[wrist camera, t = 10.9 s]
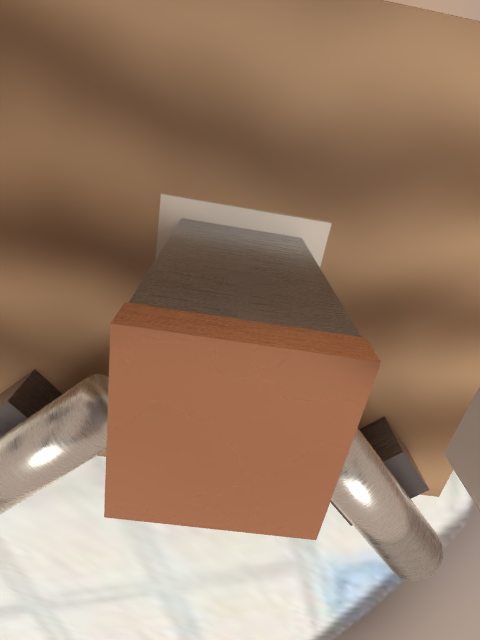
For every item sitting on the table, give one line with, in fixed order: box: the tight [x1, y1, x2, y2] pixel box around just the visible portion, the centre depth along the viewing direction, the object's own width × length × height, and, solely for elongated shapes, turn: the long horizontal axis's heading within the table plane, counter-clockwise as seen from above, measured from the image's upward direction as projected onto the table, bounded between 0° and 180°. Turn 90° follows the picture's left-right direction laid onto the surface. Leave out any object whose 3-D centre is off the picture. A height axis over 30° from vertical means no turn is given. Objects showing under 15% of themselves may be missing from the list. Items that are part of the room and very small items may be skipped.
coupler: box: [104, 218, 381, 540], centre depth 13 cm, size 5×5×10 cm
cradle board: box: [0, 0, 480, 497], centre depth 18 cm, size 22×28×2 cm
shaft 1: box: [0, 369, 109, 514], centre depth 18 cm, size 9×4×5 cm, turn 125°
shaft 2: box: [330, 416, 443, 581], centre depth 19 cm, size 9×4×5 cm, turn 35°
